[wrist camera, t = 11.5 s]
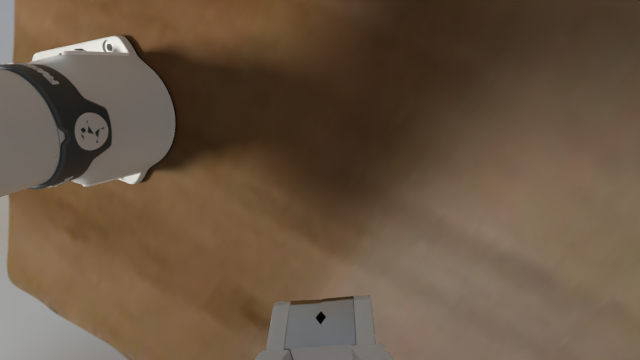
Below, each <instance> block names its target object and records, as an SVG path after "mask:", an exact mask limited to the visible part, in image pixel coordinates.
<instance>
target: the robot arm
mask: <svg viewBox="0 0 640 360" xmlns="http://www.w3.org/2000/svg"><path fill="white" fill-rule="evenodd" d="M111 47H112V48H111ZM174 134H175V113H174V108H173V104H172V101H171V98H170V95H169V93H168V91H167V89H166V87H165V85H164V84H163V82H162V80H161V79H160V78H159V76H158V75H157V74H156V73H155V72H154V71H153V70H152V69H151V68H150V67H149V66H148V65H146V64H145V63H144V62H143V61H142V60H141V59H140V58H139V57H138V56H137V54H136V52H135V50H134V49H133V47H132V45H131V44H130V42H129V41H128V40H127V39H126V38H125V37H124V36H110V37H105V38H101V39H96V40H92V41H87V42H83V43H78V44H73V45H69V46H64V47H60V48H55V49H51V50H46V51H42V52H38V53H35V54H34V56H33V59H32V62H28V63H7V64H2V65H0V197H2V196H5V195H8V194H11V193H14V192H17V191H21V190H24V189H27V188H28V189H42V188H46V187H53V186H57V185H61V184H64V183H65V182H68V181H73V182H75V183H78V184H82V185H83V186H93V185H97V184H101V183H105V182H109V181H112V180H116V179H119V180H121V181H124V182H126V183H129V184H136V183H139V182H141V181H142V180H143V178H144V177H145V175H146V173H147V171H148V169H149V168H150V167H151V166H153V165H154V164H156V163H157V162H159V161H160V160H161V159H162V158H163V157H164V156H165V155H166V154H167V152H168V151H169V149H170V147H171V145H172V142H173V139H174ZM254 360H393V358H392V357H391V356H390V355H389V353H388V352H387V351H386V350H385V349H384V347H383V346H382V345H381V344H376V341H375V331H374V322H373V313H372V304H371V297H370V295H367V296H350V297H338V298H327V299H322V300H303V301H285V302H275V304H274V306H273V311H272V317H271V323H270V328H269V334H268V340H267V346H266V351H261V352H260V353H259V354H258V356H257V357H256V358H255V359H254Z"/></svg>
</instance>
